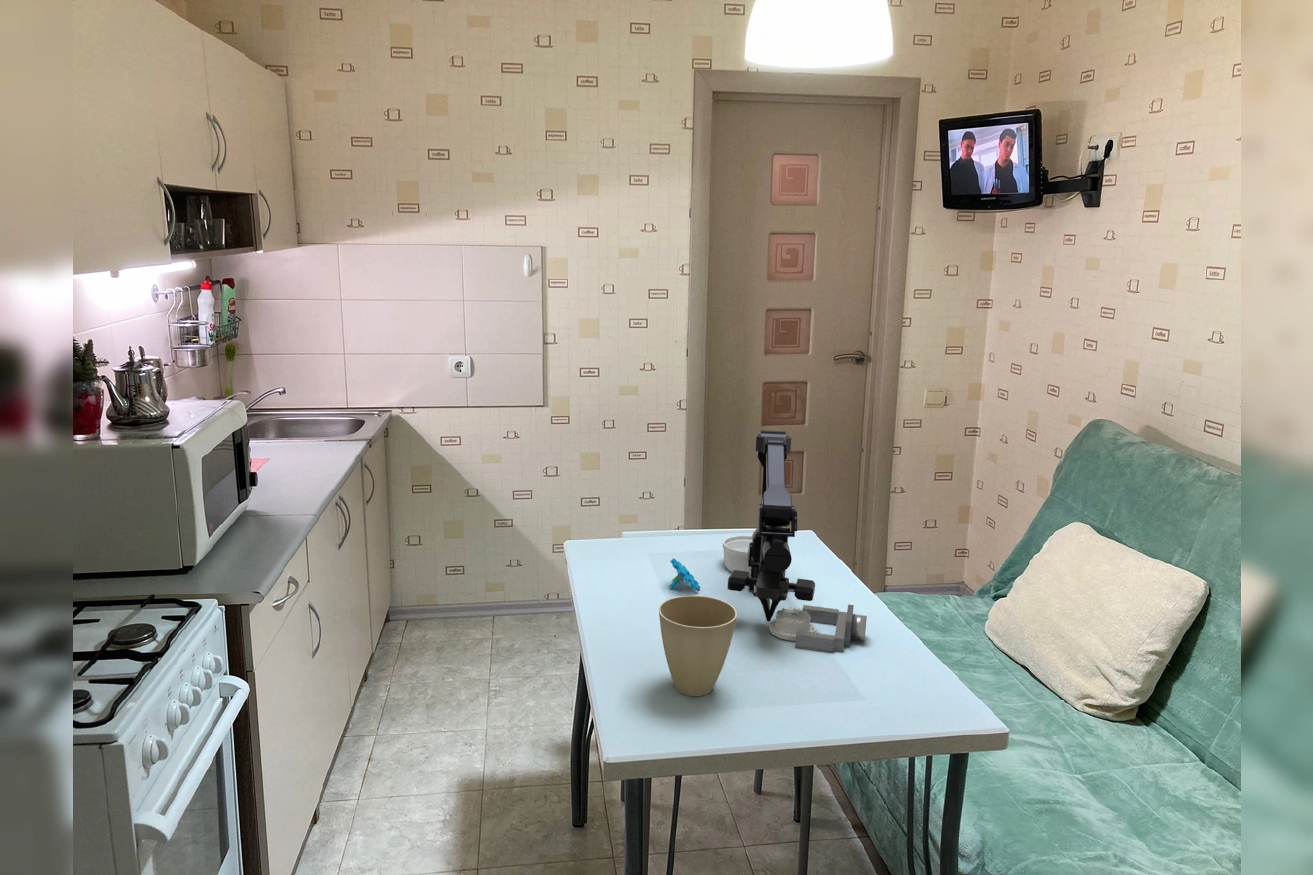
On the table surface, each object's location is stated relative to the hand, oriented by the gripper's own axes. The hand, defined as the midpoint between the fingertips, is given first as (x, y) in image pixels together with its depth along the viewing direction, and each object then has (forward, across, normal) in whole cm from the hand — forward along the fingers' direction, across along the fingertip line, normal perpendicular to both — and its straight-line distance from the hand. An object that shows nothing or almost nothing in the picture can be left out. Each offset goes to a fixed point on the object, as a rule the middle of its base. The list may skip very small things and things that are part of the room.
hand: (768, 620), depth 204 cm
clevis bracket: (+1, +14, 0) cm, 14 cm away
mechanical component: (+2, +5, 0) cm, 6 cm away
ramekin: (+2, -11, +34) cm, 36 cm away
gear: (+2, -23, +16) cm, 28 cm away
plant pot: (+2, -10, -31) cm, 33 cm away
